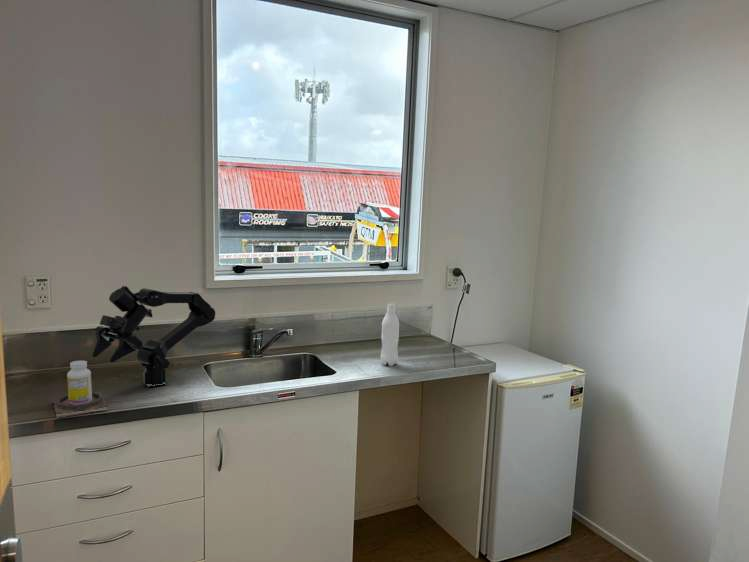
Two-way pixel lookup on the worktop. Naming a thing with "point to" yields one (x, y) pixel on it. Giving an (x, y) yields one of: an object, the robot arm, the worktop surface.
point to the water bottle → (390, 336)
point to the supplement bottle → (79, 383)
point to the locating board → (65, 407)
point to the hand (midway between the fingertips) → (101, 359)
